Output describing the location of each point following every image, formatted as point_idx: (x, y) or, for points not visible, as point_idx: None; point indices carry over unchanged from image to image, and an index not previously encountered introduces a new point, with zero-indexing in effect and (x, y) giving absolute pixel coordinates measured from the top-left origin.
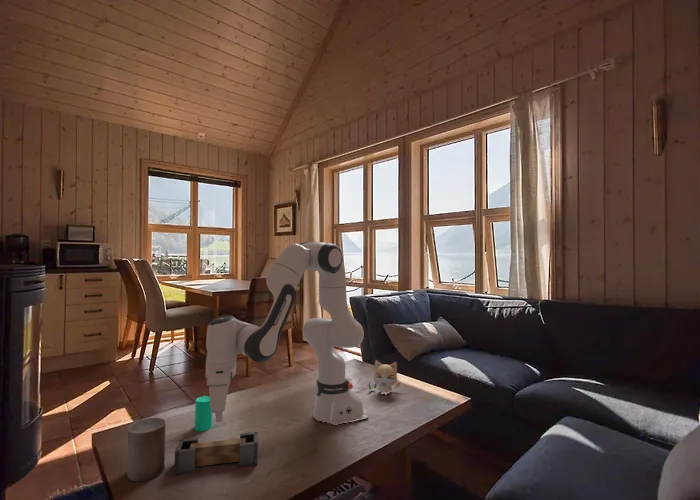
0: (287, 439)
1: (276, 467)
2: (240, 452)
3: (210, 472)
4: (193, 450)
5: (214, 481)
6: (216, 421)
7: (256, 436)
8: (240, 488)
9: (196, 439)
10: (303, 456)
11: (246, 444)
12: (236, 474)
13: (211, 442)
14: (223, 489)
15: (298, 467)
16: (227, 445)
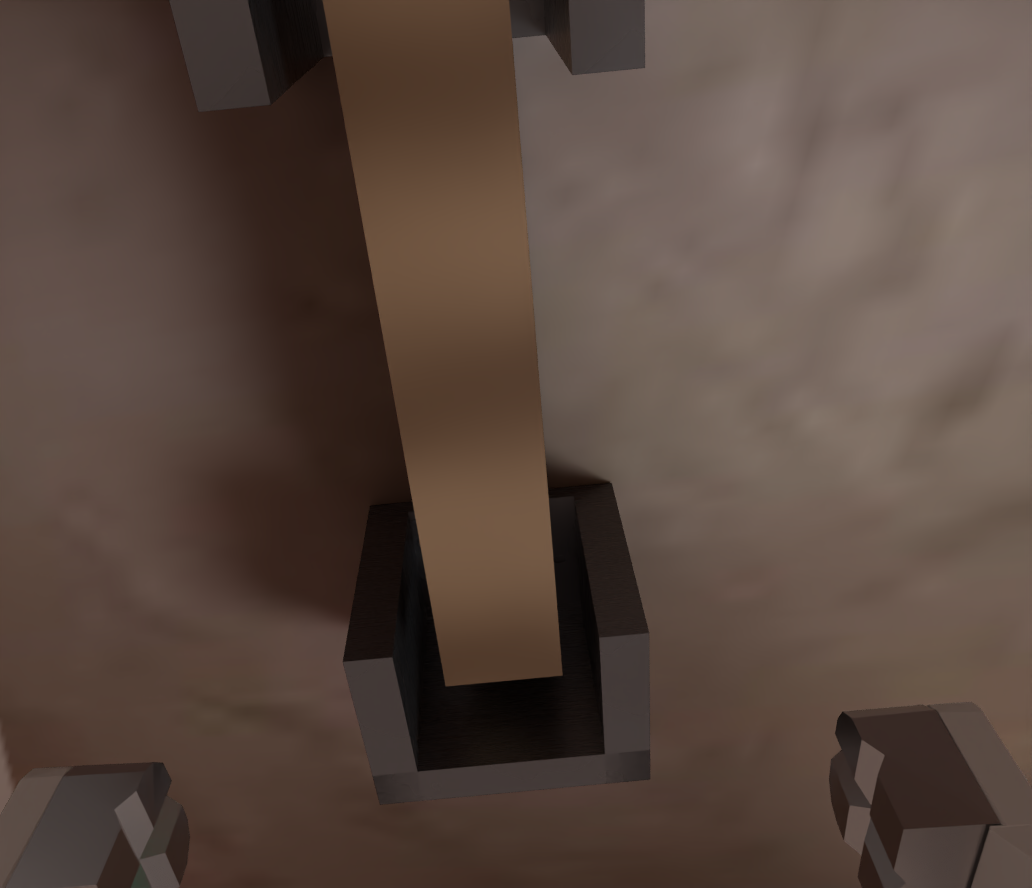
0: (772, 797)
1: (351, 752)
2: (354, 610)
3: (282, 254)
4: (193, 85)
5: (120, 326)
6: (27, 783)
7: (541, 780)
8: (41, 553)
9: (588, 45)
10: (487, 882)
11: (361, 718)
12: (249, 499)
13: (503, 306)
14: (4, 427)
15: (344, 861)
16: (418, 512)
